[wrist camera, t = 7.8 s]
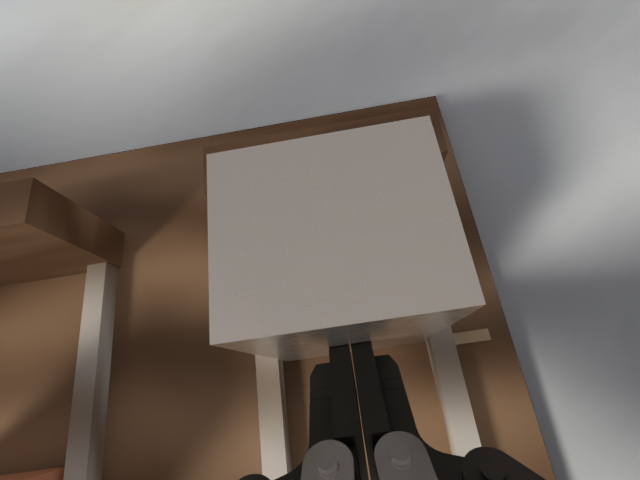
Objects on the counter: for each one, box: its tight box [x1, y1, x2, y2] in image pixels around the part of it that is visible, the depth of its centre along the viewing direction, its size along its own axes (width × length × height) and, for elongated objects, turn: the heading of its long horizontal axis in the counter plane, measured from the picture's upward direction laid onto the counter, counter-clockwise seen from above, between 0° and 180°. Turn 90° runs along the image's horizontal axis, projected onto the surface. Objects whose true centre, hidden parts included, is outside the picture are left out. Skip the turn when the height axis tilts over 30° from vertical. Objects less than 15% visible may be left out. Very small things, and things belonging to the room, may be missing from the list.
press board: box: [0, 96, 556, 480], centre depth 15 cm, size 26×30×7 cm
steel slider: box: [207, 115, 486, 361], centre depth 13 cm, size 5×6×9 cm
